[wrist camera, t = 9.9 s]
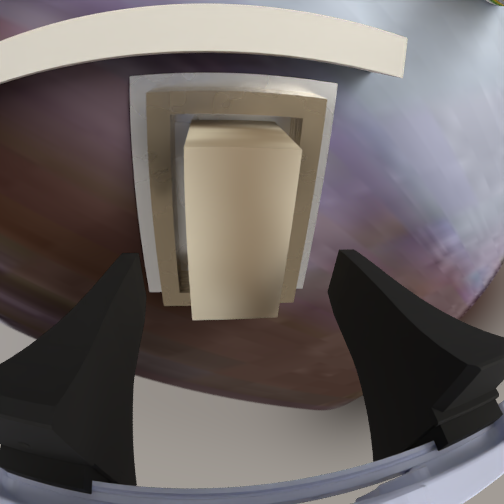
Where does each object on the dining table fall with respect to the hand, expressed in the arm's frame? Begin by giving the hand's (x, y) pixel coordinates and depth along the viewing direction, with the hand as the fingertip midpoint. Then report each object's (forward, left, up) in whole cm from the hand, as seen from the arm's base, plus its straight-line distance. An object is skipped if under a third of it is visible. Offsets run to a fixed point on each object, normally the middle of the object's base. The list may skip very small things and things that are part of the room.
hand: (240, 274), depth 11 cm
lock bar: (0, 0, -7) cm, 7 cm away
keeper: (0, 0, -7) cm, 7 cm away
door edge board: (-3, +8, -7) cm, 11 cm away
